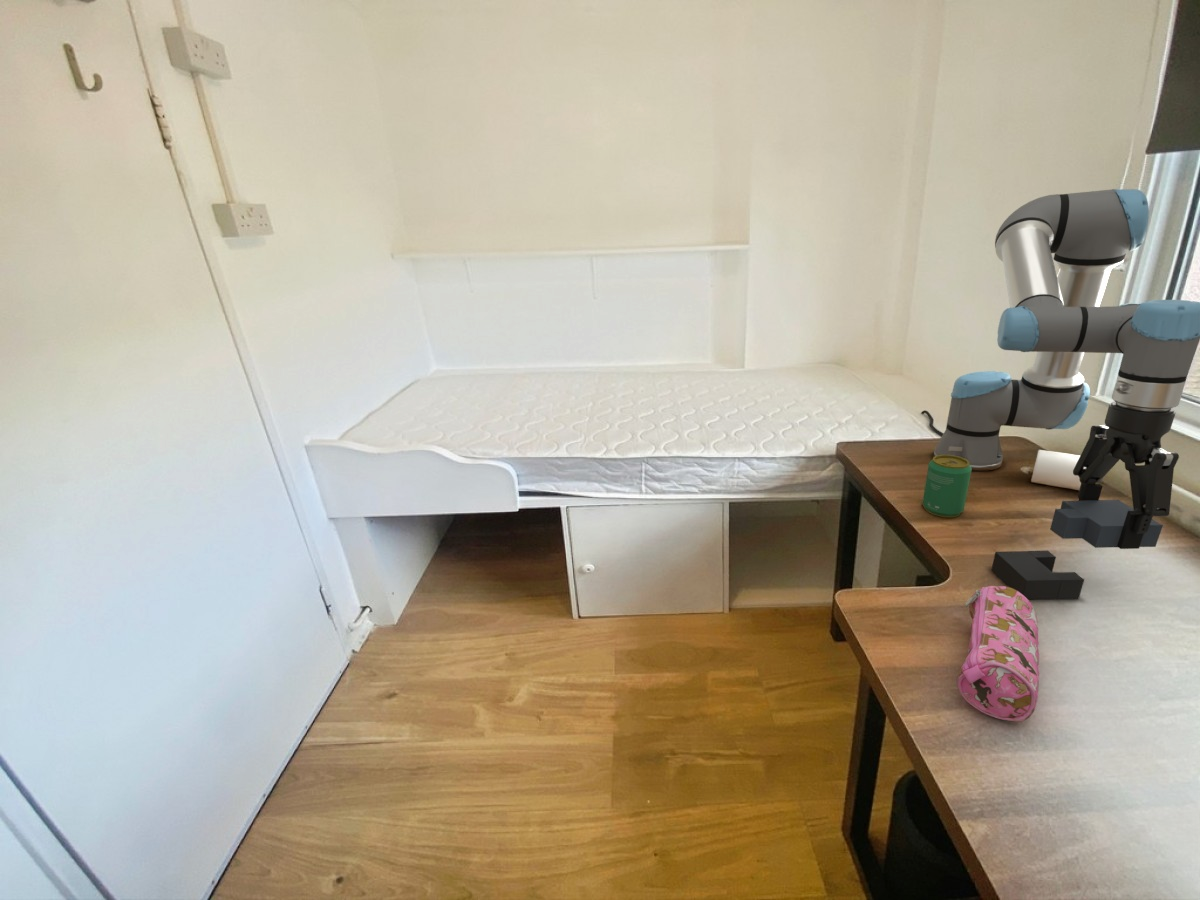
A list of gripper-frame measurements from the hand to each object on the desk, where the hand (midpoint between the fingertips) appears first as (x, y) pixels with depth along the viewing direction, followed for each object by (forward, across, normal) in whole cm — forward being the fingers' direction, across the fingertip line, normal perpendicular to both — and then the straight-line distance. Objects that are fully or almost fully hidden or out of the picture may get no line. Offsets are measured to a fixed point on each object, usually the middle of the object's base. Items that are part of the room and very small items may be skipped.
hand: (1104, 532), depth 93 cm
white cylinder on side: (+10, -40, +21) cm, 46 cm away
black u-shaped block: (+10, 0, -9) cm, 14 cm away
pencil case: (+11, +21, -27) cm, 36 cm away
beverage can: (+10, -28, -11) cm, 32 cm away
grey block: (0, 0, -1) cm, 2 cm away
